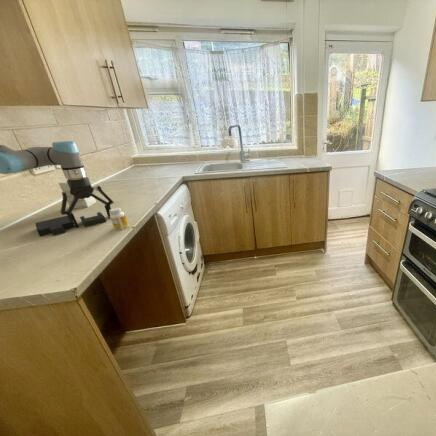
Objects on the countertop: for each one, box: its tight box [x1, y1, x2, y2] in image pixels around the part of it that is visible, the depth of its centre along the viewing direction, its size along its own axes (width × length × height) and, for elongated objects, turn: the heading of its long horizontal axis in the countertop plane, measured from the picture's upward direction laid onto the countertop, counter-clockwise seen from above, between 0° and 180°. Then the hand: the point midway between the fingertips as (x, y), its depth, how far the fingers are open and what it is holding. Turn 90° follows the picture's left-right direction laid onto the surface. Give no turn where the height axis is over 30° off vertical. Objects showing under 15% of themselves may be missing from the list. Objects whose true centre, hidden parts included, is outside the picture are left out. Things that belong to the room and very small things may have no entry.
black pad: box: [79, 211, 107, 228], centre depth 115 cm, size 10×8×3 cm
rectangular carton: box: [58, 179, 97, 210], centre depth 135 cm, size 9×9×15 cm
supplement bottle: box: [109, 207, 130, 231], centre depth 107 cm, size 5×5×10 cm
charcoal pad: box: [35, 215, 76, 237], centre depth 109 cm, size 16×12×3 cm
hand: (94, 222), depth 116 cm, fingers open, 12 cm apart
